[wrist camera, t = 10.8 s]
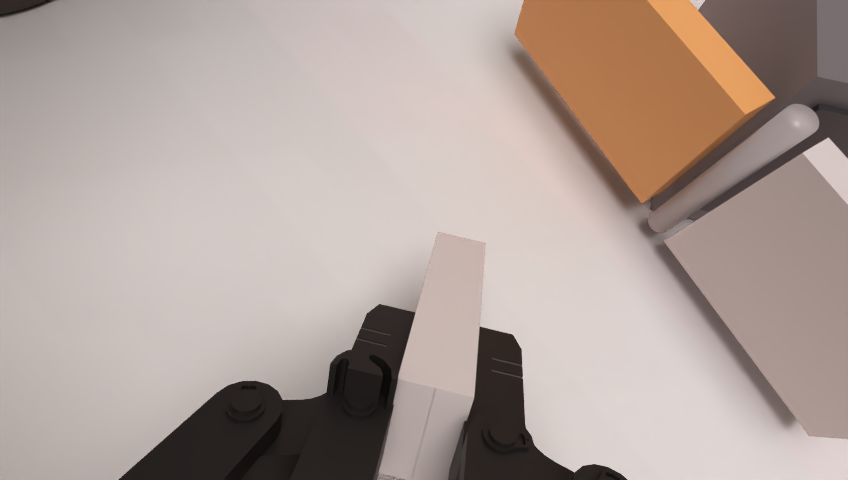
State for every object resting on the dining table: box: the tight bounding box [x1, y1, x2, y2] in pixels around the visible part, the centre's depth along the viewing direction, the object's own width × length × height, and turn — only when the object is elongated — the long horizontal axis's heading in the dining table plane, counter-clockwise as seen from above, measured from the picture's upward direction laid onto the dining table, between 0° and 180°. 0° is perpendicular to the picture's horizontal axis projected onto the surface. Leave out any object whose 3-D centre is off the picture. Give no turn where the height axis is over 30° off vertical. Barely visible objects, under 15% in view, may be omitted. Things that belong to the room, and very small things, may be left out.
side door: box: [514, 0, 848, 439], centre depth 18 cm, size 21×1×8 cm, turn 30°
